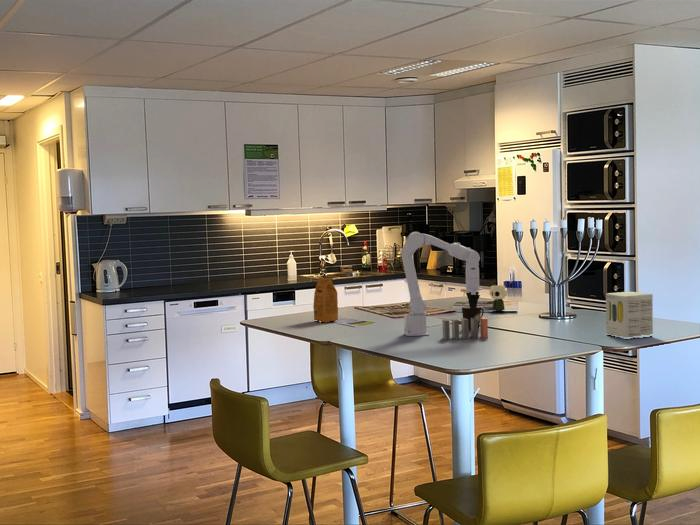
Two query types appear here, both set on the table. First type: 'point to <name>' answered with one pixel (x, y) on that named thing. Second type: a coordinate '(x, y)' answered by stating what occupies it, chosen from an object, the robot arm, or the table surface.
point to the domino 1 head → (446, 329)
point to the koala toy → (498, 297)
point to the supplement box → (629, 314)
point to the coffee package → (325, 301)
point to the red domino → (483, 327)
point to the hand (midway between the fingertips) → (472, 309)
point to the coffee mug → (472, 314)
